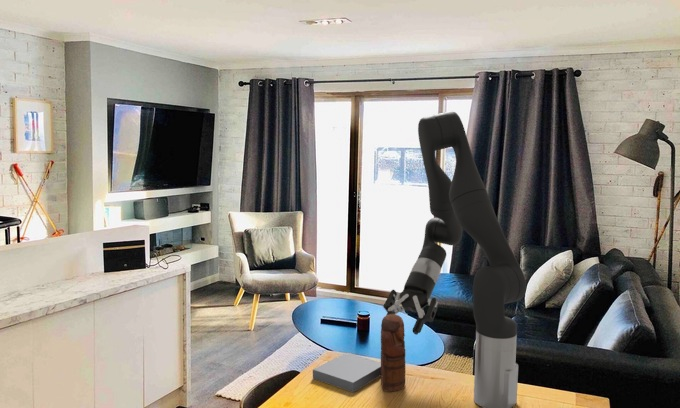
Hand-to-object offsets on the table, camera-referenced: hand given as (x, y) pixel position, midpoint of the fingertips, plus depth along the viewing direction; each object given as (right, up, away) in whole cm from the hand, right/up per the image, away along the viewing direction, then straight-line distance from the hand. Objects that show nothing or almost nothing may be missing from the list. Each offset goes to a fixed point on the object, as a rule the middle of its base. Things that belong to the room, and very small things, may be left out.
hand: (400, 329), depth 144 cm
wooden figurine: (-2, -14, -2) cm, 14 cm away
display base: (-13, -13, +2) cm, 18 cm away
